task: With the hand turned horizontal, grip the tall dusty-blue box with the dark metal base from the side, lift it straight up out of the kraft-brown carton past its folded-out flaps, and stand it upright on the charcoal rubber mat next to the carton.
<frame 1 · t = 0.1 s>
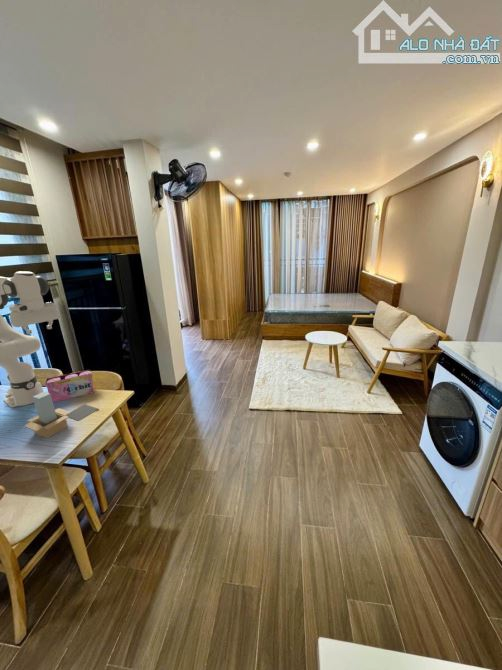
hand: (39, 331, 133), 48 cm above the table, tool pointing down, fingers open, 8 cm apart
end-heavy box: (51, 429, 131), resting on carton
mat: (81, 412, 145), on the table
gum box: (73, 395, 164), on the table
carton: (51, 430, 131), on the table
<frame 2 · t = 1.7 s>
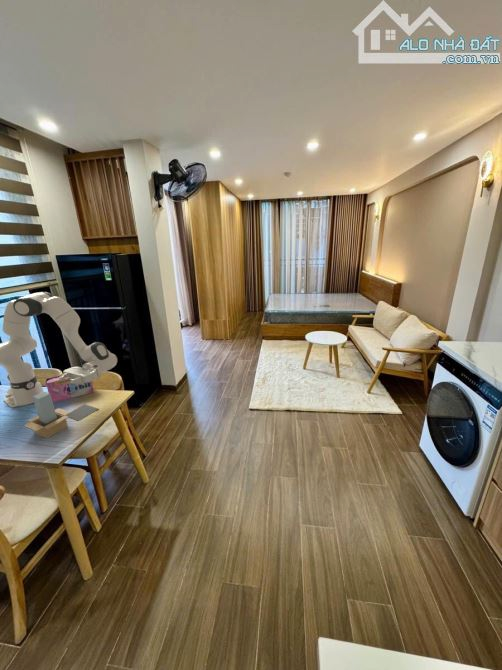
hand: (65, 380, 134), 23 cm above the table, tool horizontal, fingers open, 8 cm apart
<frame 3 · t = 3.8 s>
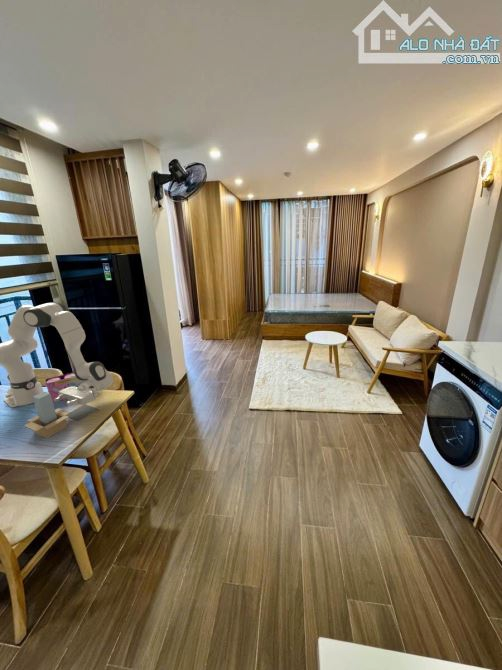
hand: (61, 402, 134), 12 cm above the table, tool horizontal, fingers open, 8 cm apart
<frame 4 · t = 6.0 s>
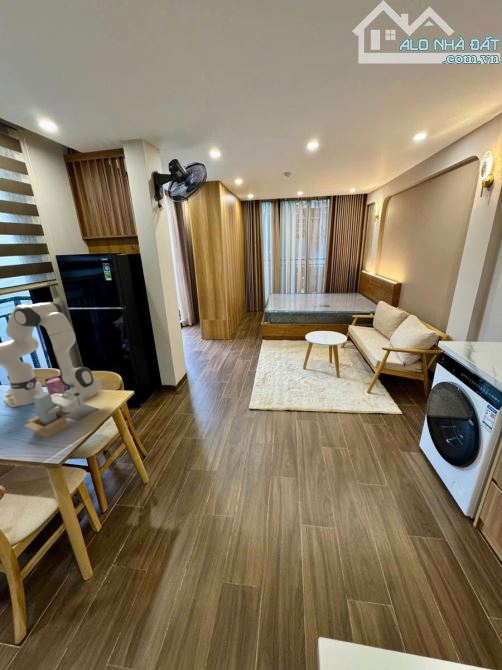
hand: (43, 410, 126), 12 cm above the table, tool horizontal, fingers closed on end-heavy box, 5 cm apart
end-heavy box: (51, 429, 131), resting on carton, touching gripper
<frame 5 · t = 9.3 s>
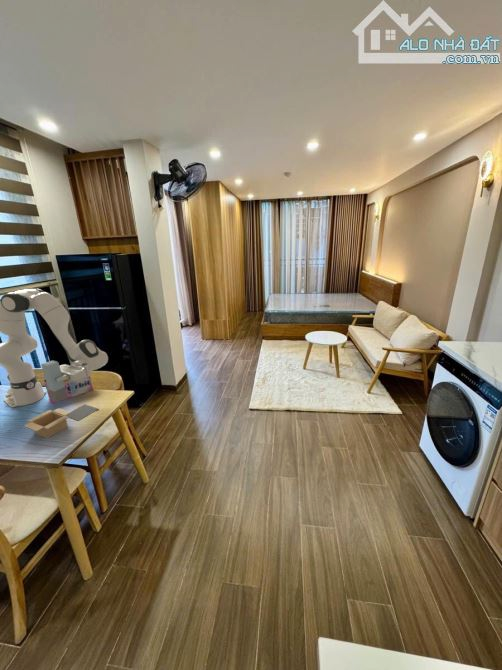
hand: (52, 379, 128), 26 cm above the table, tool horizontal, fingers closed on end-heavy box, 5 cm apart
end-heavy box: (59, 398, 133), point 15 cm above the table, touching gripper
when the fingers open (14 cm above the table, at t = 12.8 s): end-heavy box drops 1 cm, resting on mat.
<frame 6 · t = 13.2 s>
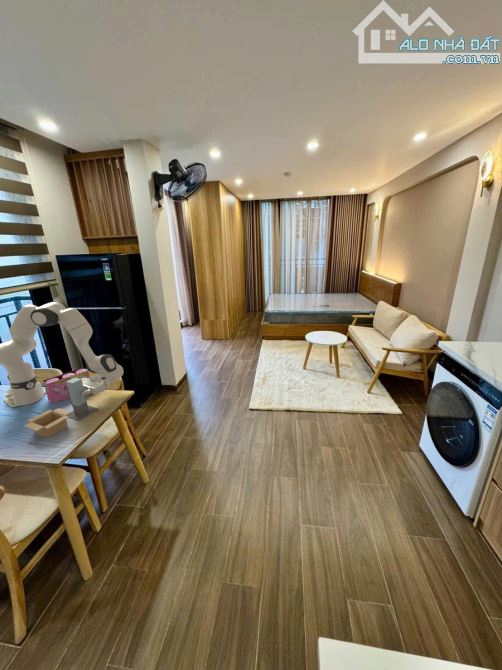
hand: (75, 392, 140), 14 cm above the table, tool horizontal, fingers open, 8 cm apart
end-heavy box: (81, 412, 145), point 1 cm above the table, touching mat
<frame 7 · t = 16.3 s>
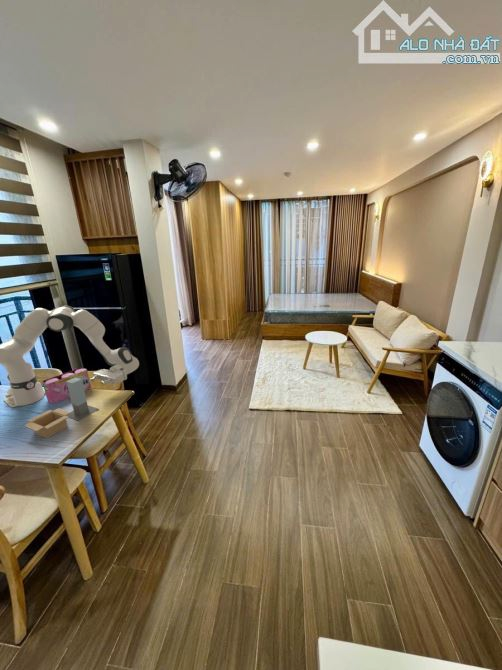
hand: (96, 381, 151), 14 cm above the table, tool horizontal, fingers open, 8 cm apart
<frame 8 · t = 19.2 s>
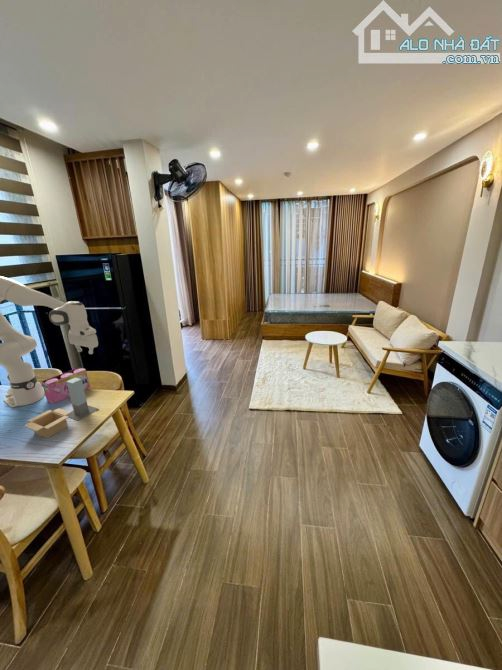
hand: (85, 352, 149), 31 cm above the table, tool pointing down, fingers open, 8 cm apart
at the end: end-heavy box inside the target area on the mat (0.1 cm from its centre), point 0.6 cm above the mat's base; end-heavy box tilted 0°; the gripper is holding nothing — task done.
